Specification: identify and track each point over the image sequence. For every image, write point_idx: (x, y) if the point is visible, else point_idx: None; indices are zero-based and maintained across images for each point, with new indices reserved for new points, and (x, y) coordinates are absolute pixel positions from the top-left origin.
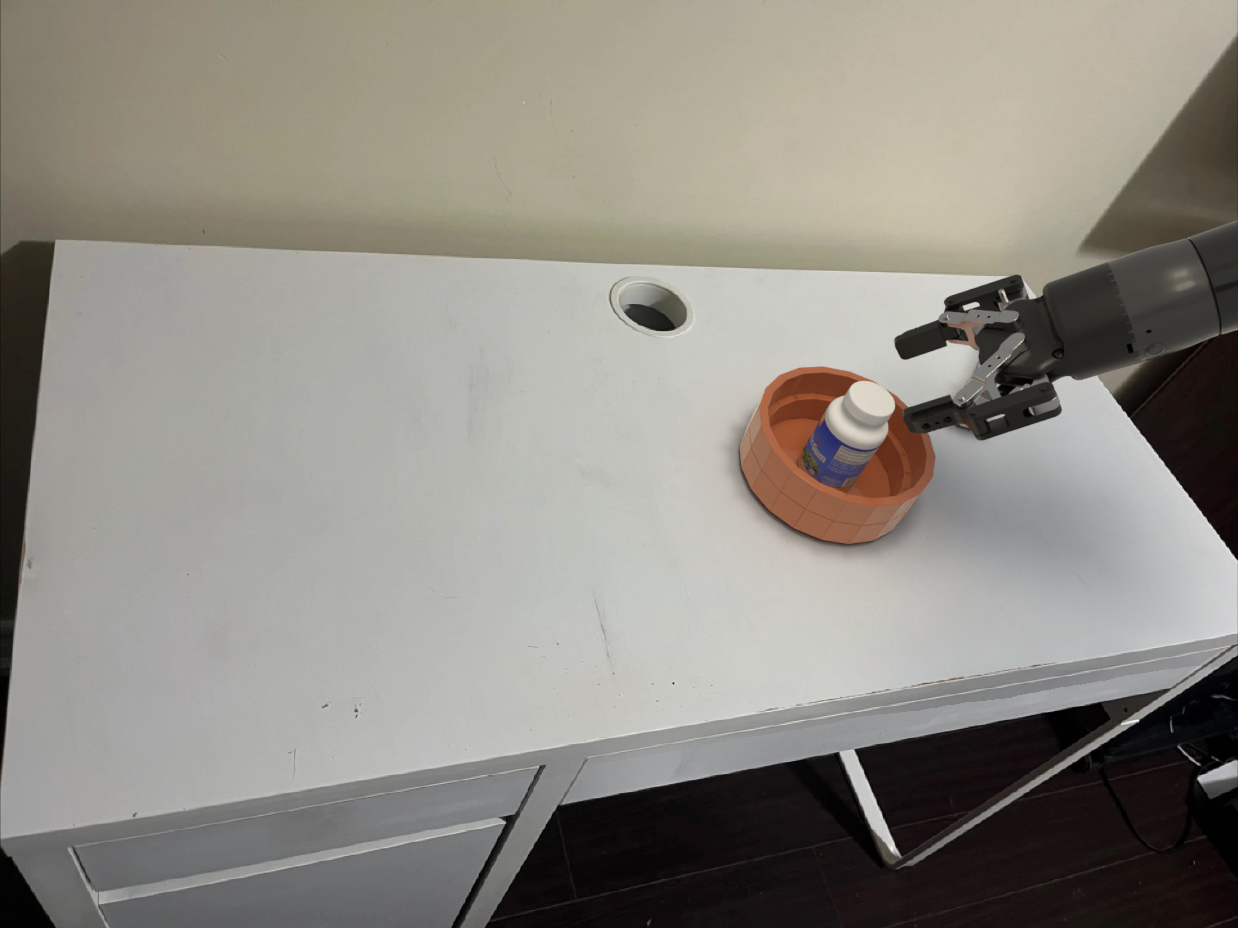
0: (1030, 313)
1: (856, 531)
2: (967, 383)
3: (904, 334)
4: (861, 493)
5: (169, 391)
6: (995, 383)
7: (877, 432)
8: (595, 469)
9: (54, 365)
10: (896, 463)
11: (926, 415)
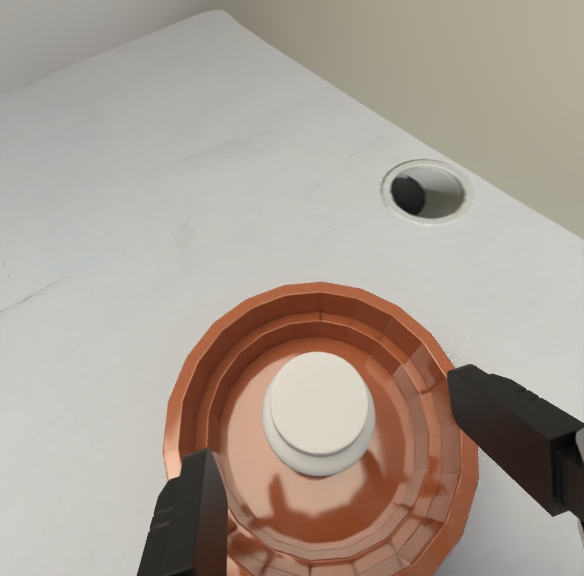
0: None
1: None
2: None
3: (482, 374)
4: (309, 496)
5: (143, 64)
6: None
7: (292, 450)
8: (192, 231)
9: (139, 38)
10: (379, 537)
11: (168, 511)
